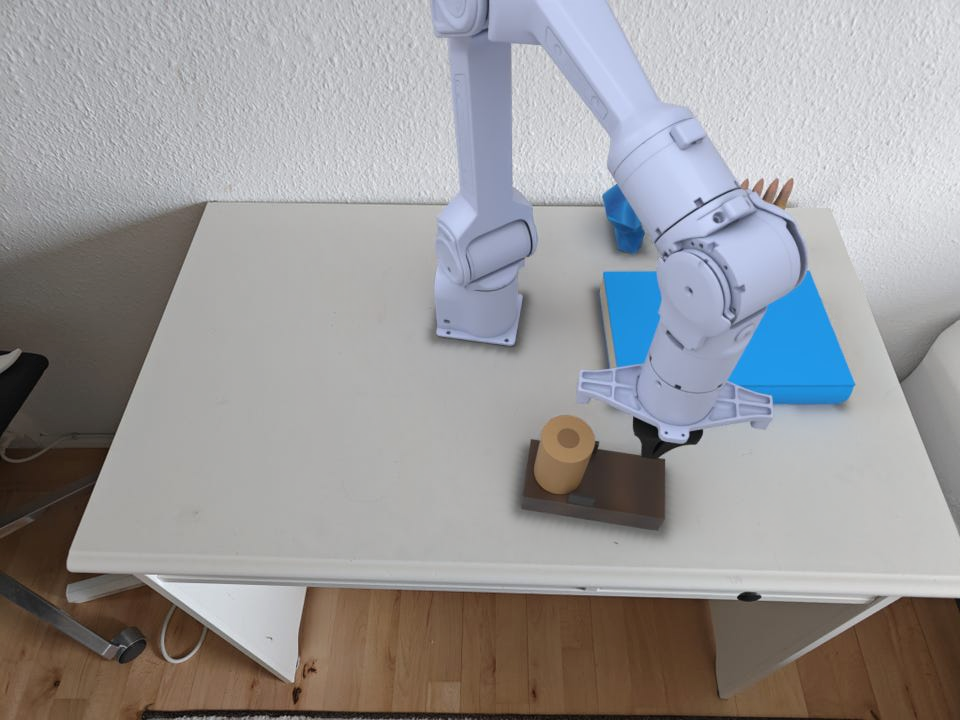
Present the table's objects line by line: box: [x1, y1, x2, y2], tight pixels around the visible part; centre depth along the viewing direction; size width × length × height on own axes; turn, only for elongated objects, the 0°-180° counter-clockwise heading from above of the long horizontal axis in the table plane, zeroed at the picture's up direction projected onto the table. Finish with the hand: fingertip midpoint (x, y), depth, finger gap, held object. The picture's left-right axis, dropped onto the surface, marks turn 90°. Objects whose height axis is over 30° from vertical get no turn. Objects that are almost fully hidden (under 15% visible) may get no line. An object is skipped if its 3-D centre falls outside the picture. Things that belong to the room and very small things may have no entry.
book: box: [598, 270, 856, 405], centre depth 73 cm, size 17×4×25 cm
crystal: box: [601, 183, 646, 255], centre depth 82 cm, size 7×9×12 cm
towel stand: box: [520, 438, 666, 531], centre depth 63 cm, size 14×6×5 cm, turn 80°
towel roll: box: [534, 414, 596, 494], centre depth 60 cm, size 7×5×5 cm
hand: (649, 448), depth 56 cm, fingers closed
